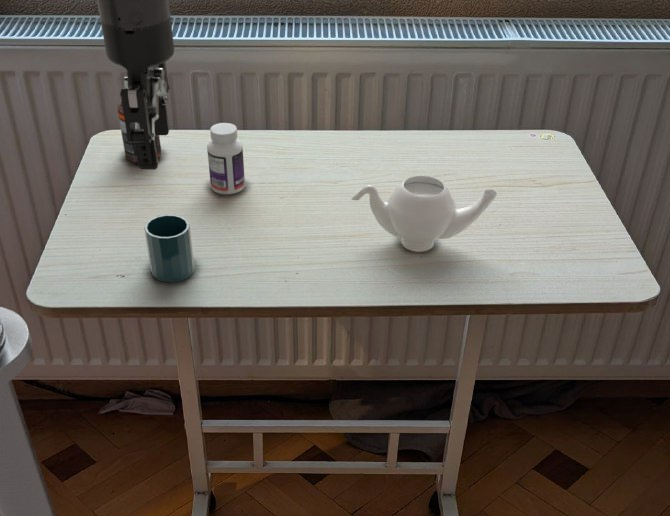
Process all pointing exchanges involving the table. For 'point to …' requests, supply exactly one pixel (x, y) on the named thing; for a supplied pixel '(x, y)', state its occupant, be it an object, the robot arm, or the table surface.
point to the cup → (169, 248)
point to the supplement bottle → (130, 146)
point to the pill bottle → (225, 159)
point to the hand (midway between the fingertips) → (154, 150)
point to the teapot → (423, 211)
